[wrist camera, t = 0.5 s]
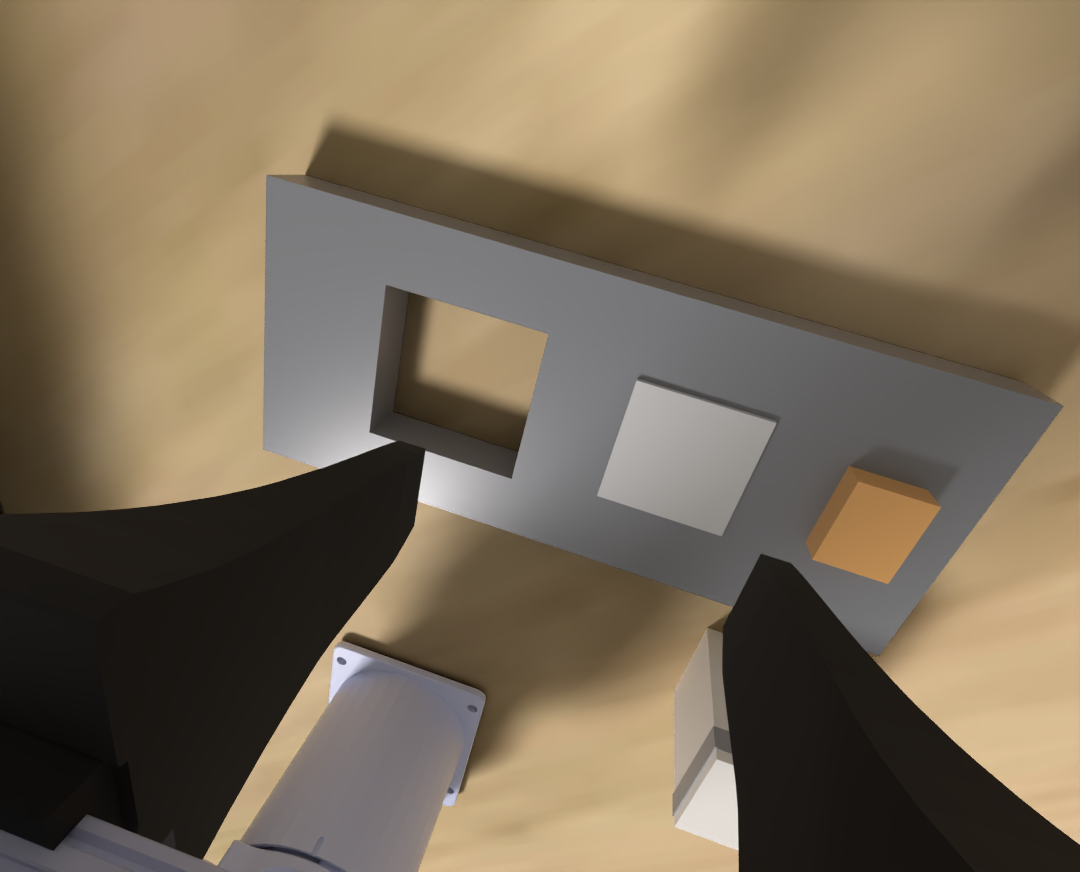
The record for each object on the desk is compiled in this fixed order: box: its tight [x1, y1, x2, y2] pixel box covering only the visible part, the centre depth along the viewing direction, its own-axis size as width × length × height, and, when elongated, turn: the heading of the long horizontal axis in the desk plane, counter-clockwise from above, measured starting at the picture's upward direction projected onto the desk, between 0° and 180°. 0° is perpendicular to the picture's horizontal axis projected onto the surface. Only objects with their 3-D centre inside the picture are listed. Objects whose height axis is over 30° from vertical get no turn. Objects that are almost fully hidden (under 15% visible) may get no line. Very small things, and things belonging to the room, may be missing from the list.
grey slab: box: [263, 175, 1063, 656], centre depth 19 cm, size 24×10×3 cm, turn 76°
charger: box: [673, 628, 739, 851], centre depth 22 cm, size 4×4×6 cm
